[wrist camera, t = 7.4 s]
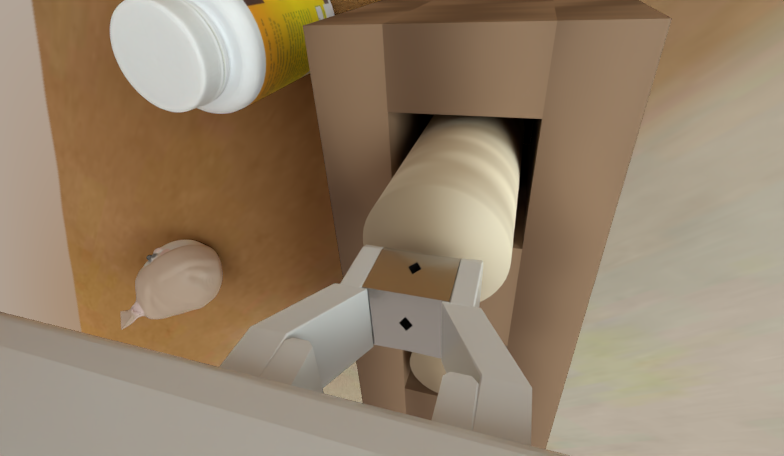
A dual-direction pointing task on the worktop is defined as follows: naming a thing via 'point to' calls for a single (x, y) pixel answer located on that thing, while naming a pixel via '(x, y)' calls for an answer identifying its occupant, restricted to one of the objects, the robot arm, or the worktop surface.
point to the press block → (539, 158)
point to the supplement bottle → (212, 49)
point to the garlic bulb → (175, 281)
